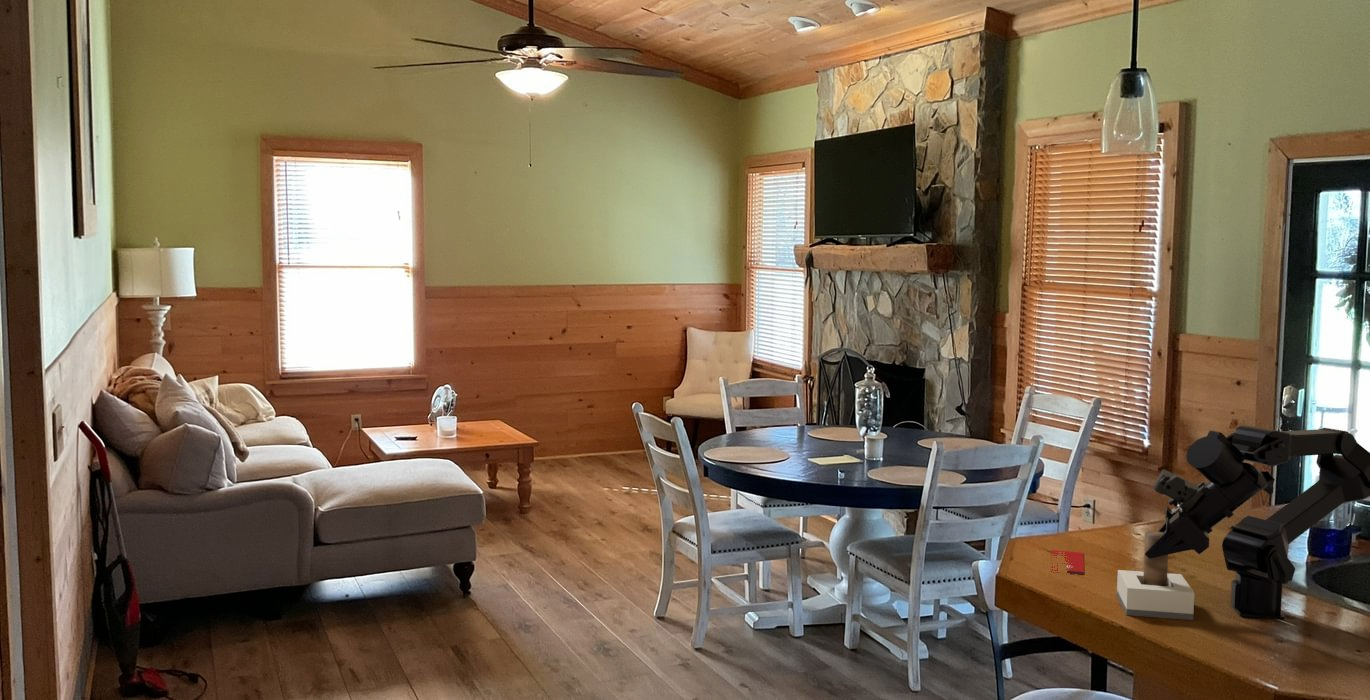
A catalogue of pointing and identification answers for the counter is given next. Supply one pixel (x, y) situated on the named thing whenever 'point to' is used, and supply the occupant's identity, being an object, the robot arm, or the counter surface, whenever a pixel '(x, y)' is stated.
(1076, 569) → the electronic device
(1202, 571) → the counter surface
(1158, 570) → the walnut pin
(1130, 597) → the bore block
